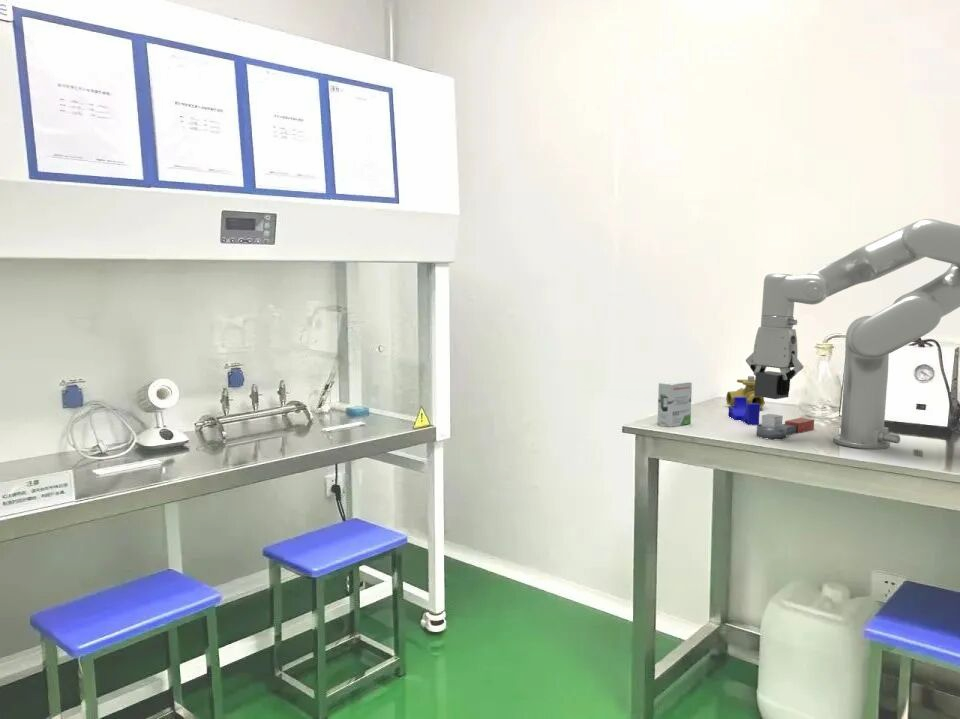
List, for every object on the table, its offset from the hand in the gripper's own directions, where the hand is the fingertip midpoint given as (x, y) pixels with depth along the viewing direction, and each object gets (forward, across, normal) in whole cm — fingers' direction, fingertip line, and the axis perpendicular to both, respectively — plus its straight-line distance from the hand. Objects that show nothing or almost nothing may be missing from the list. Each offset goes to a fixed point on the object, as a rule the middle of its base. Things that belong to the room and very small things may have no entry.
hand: (771, 392), depth 196 cm
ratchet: (+11, -1, -7) cm, 14 cm away
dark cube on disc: (+1, 0, 0) cm, 1 cm away
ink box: (+12, +24, +7) cm, 28 cm away
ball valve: (+12, +28, -32) cm, 44 cm away
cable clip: (+12, +16, -13) cm, 24 cm away
